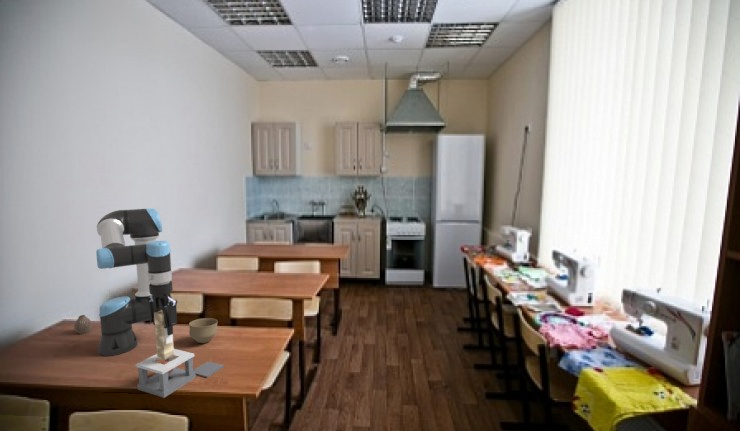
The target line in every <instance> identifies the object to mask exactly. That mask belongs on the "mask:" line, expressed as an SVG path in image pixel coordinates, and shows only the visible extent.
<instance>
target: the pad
mask: <svg viewBox="0 0 740 431" xmlns="http://www.w3.org/2000/svg"><path fill="white" fill-rule="evenodd" d="M224 367H225V365H224V364H220V363H217V362H213V361H206V362H205V363H203V364H201V365H200V366H197V367H196V368H195V369H194V368H193V372H194V373H196V376H199V377H204V378H206V379H208V378H209V377H210V376H212V375H215V373H217V372H218V371H220V370H222V369H223V368H224Z"/></svg>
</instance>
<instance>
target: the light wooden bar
mask: <svg viewBox="0 0 740 431" xmlns="http://www.w3.org/2000/svg"><path fill="white" fill-rule="evenodd" d="M154 319H155V325H154V331H155V332H154V333H155V344H156V346H155V347H156V354H157V358H159V359H161V360H163V361H165V360H166V359H168V358H170V357H172V356H173V355H174V349H175V347H174V340H173V341H172V342H170V343H168V344H165V333H164V327H165V326H166V325H165V320H164V314H163V311H162V310H161V311H158V312H155V313H154Z"/></svg>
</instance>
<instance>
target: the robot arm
mask: <svg viewBox="0 0 740 431" xmlns="http://www.w3.org/2000/svg"><path fill="white" fill-rule="evenodd" d="M160 216H161V215H160V213H159V211H158V210H157V209H155V208H137V209H136V208H135V209H134V208H133V209H119V210H114V211H112V212H109V213H107V214H106V215H104V216H103V217H102V218H100V219H99V221H98V222H97V225H96V232H97V234H98V236H100V242H101V248H98V249H96V251H95V252H96V264H97V265H96V266H97V268H98V269H101V270H102V269H113V268H114V269H115V268H120V267H127V266H134V265H136V276H137V277H136V278H137V288H138V289H137V291H136V293H135V294H134V298H130V296H127V295H124V296H123V295H122V296H118V297H114V298H111V299H108V300H106V301H104V302H103V303H101V305H100V306H99V313H98V316H99V318H100V319H99V320H100V331H101V332H100V333H101V336H100V339H99V342H98V347H97V354H99V356H103V357H104V356H105V357H108V356H116V355H120V354H124V353H127V352H130V351H131V350H133V349H135V348H136V347H137V346H138V341H139V340H138V337H137V336H136V334H135V332H134V330H133V324H138V323H143V322H147V321H149V322H150V323H151V324H153V325H154V326H155V319H154V313H155V312H158V311H161V310H162V311H163V314H164V320H165V325H166V326H165V327H164V333H165V344H168V343H170V342H172V341H173V342H174V335H173V334H174V326H175V325H176V326H177V325H178V318H177V317H178V312H177V304H178V299H173V298H172V295H171V293H172V291H173V281H172V280H173V276H172V275H173V274H172V262H171V246H170V243H169V241H167V240H156V239H158V238H159V236H160V233H161V232H162V231H163V226H162V220H161V217H160ZM125 235H126V236H127V235H129V237H130V239H131V240H132V241H134V245H126V242H125V238H124V236H125Z"/></svg>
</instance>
